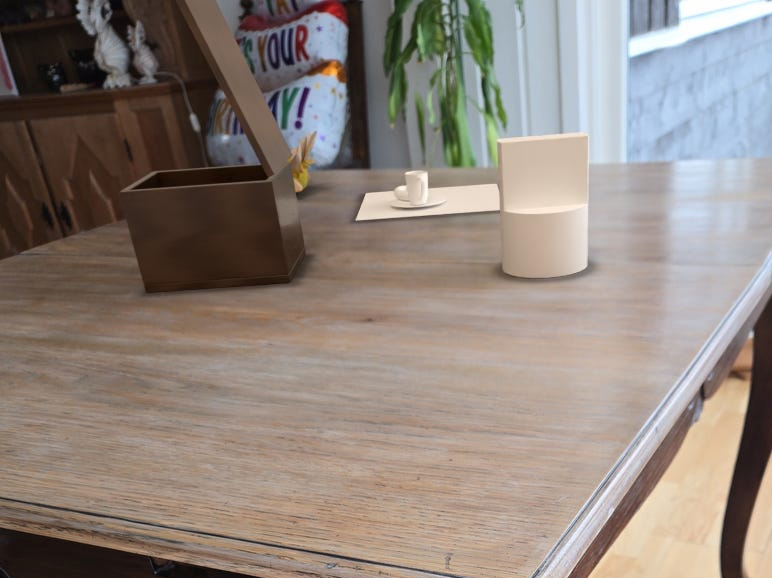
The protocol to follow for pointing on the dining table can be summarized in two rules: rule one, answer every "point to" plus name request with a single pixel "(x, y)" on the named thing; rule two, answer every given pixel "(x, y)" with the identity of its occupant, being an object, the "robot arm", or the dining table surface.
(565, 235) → the base with upright slab
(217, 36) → the chest lid
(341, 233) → the dining table surface
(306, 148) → the decorative flower
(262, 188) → the chest
